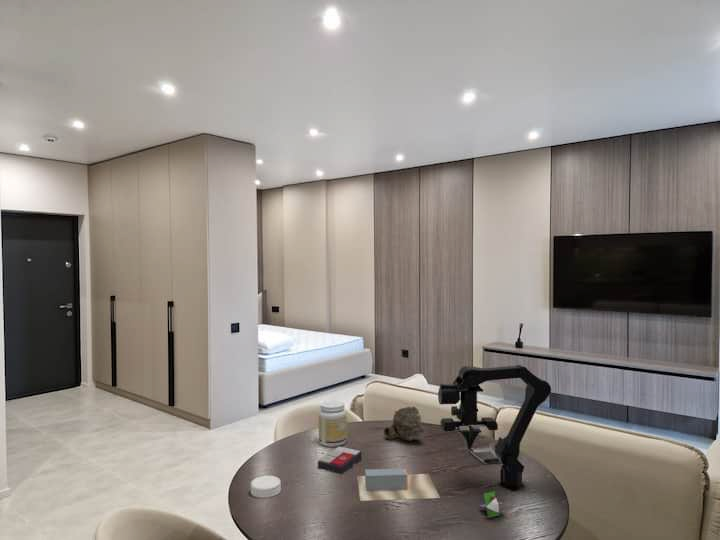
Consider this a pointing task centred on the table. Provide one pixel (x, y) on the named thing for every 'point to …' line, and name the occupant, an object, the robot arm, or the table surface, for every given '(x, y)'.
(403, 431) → the rock
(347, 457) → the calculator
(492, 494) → the geometric puzzle
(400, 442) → the table surface
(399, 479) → the pillar
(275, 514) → the table surface
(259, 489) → the white puck
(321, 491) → the table surface
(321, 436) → the supplement tub
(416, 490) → the board
